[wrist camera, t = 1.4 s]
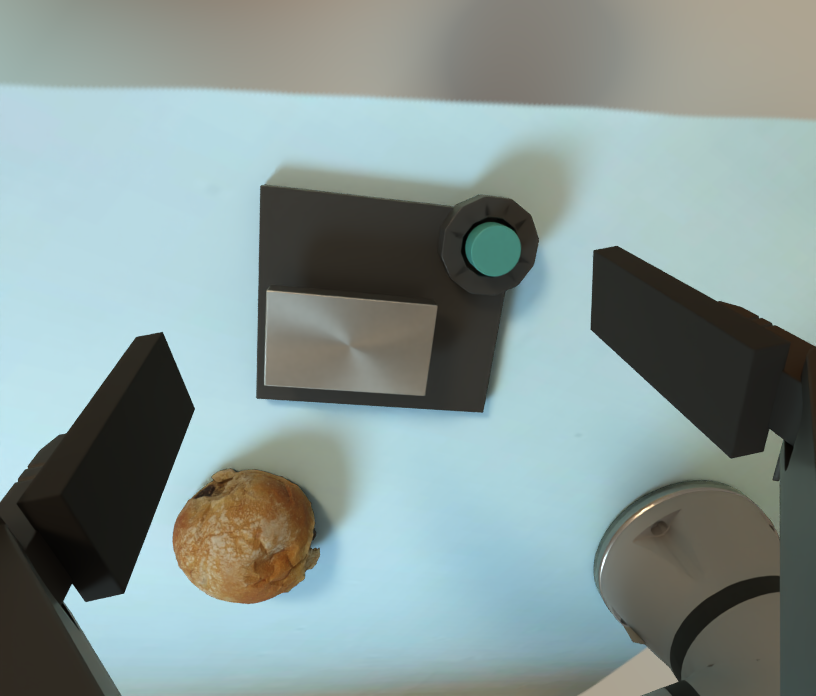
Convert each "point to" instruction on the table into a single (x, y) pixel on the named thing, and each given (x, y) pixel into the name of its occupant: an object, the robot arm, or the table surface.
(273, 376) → the silver metal plate
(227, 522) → the bread roll
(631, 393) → the table surface
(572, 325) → the table surface
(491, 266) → the tare button
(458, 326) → the scale
